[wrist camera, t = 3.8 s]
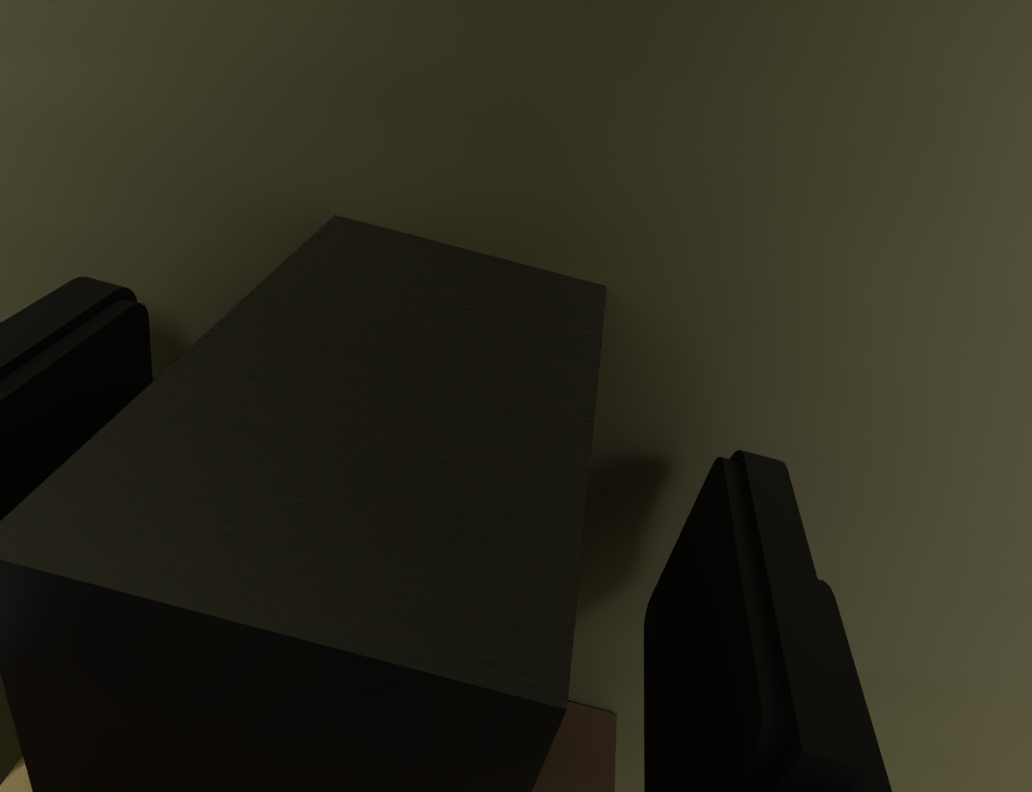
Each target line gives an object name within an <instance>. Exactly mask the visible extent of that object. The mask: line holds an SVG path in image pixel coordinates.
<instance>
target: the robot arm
mask: <svg viewBox="0 0 1032 792" xmlns="http://www.w3.org/2000/svg"><path fill="white" fill-rule="evenodd" d="M152 382H153V379H152V363H151V348H150V332H149V317H148V311H147V309H146V307H145V306H144V305H143V304H141V303H138V302H137V298H136V296H135V294H134V292H133V291H131V290H130V289H129V288H126V287H122V286H118V285H114V284H111V283H107V282H103V281H99V280H96V279H92V278H88V277H78V278H75V279H73V280H71V281H70V282H68V283H66V284H65V285H63V286H61V287H60V288H58V289H56V290H55V291H53V292H51V293H50V294H48V295H46V296H45V297H43V298H41V299H40V300H38V301H36V302H35V303H33V304H31V305H30V306H28V307H26V308H25V309H23V310H21V311H20V312H18V313H16V314H15V315H13V316H11V317H10V318H8V319H6V320H5V321H3V322H1V323H0V521H1V520H2V519H3V518H4V517H6V516H7V515H8V514H9V513H10V512H11V511H12V510H13V509H14V508H15V507H16V506H18V505H19V504H20V503H21V502H22V501H23V500H24V499H25V498H26V497H27V496H29V495H30V494H31V493H32V492H33V491H34V490H35V489H36V488H37V487H38V486H39V485H41V484H42V483H43V482H44V481H45V480H46V479H47V478H48V477H49V476H50V475H51V474H53V473H54V472H55V471H56V470H57V469H58V468H59V467H60V466H61V465H62V464H64V463H65V462H66V461H67V460H68V459H69V458H70V457H71V456H72V455H73V454H74V453H76V452H77V451H78V450H79V449H80V448H81V447H82V446H83V445H84V444H85V443H86V442H88V441H89V440H90V439H91V438H92V437H93V436H94V435H95V434H96V433H97V432H98V431H100V430H101V429H102V428H103V427H104V426H105V425H106V424H107V423H108V422H109V421H111V420H112V419H113V418H114V417H115V416H116V415H117V414H118V413H119V412H120V411H121V410H123V409H124V408H125V407H126V406H127V405H128V404H129V403H130V402H131V401H132V400H133V399H135V398H136V397H137V396H138V395H139V394H140V393H141V392H142V391H143V390H144V389H146V388H147V387H148V386H149V385H150V384H151V383H152ZM644 766H645V792H892V790H891V786H890V783H889V780H888V776H887V773H886V769H885V766H884V763H883V759H882V756H881V752H880V749H879V746H878V742H877V739H876V735H875V732H874V729H873V725H872V722H871V718H870V715H869V712H868V708H867V705H866V701H865V698H864V695H863V691H862V688H861V684H860V681H859V678H858V674H857V671H856V667H855V664H854V660H853V657H852V654H851V650H850V647H849V643H848V640H847V637H846V633H845V630H844V626H843V623H842V620H841V616H840V613H839V609H838V606H837V603H836V599H835V596H834V594H833V592H832V590H831V588H830V586H829V585H828V584H827V583H825V582H824V581H822V580H819V579H817V575H816V571H815V568H814V564H813V561H812V557H811V553H810V550H809V546H808V542H807V539H806V535H805V531H804V528H803V524H802V521H801V517H800V513H799V510H798V506H797V502H796V499H795V495H794V491H793V488H792V484H791V481H790V477H789V473H788V470H787V467H786V465H785V463H784V462H782V461H780V460H776V459H772V458H768V457H764V456H761V455H757V454H753V453H749V452H746V451H742V450H738V451H736V452H735V453H734V454H733V455H732V456H731V458H730V459H727V458H723V457H718V458H717V459H716V460H715V461H714V463H713V465H712V467H711V469H710V471H709V473H708V476H707V478H706V480H705V482H704V484H703V486H702V488H701V491H700V493H699V495H698V497H697V499H696V501H695V503H694V506H693V508H692V510H691V512H690V514H689V516H688V518H687V521H686V523H685V525H684V527H683V529H682V531H681V533H680V536H679V538H678V540H677V542H676V544H675V546H674V548H673V551H672V553H671V555H670V557H669V559H668V561H667V563H666V566H665V568H664V570H663V572H662V574H661V576H660V578H659V581H658V583H657V585H656V587H655V589H654V591H653V593H652V596H651V598H650V600H649V603H648V606H647V610H646V615H645V621H644Z"/></svg>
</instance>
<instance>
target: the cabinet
mask: <svg viewBox="0 0 1032 792" xmlns="http://www.w3.org/2000/svg"><path fill="white" fill-rule="evenodd" d="M616 719H617V714H614V713H610V712H607V711H603V710H599V709H595V708H592V707H588V706H584V705H580V704H577V703H573V702H569V701H568V702H567V710H566V712H565V715H564V717H563V719H562V722H561V724H560V726H559V729H558V731H557V733H556V736H555V738H554V741H553V743H552V745H551V748H550V750H549V752H548V755H547V757H546V759H545V762H544V764H543V766H542V769H541V771H540V773H539V776H538V778H537V780H536V783H535V785H534V787H533V790H532V792H614V781H615V750H616Z"/></svg>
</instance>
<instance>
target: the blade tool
mask: <svg viewBox="0 0 1032 792" xmlns="http://www.w3.org/2000/svg"><path fill="white" fill-rule="evenodd" d="M605 296H606V286H603V285H599V284H595V283H592V282H588V281H584V280H580V279H576V278H573V277H569V276H565V275H561V274H557V273H553V272H550V271H546V270H542V269H538V268H534V267H531V266H527V265H523V264H519V263H515V262H512V261H508V260H504V259H500V258H496V257H493V256H489V255H485V254H481V253H477V252H473V251H470V250H466V249H462V248H458V247H454V246H451V245H447V244H443V243H439V242H435V241H432V240H428V239H424V238H420V237H416V236H413V235H409V234H405V233H401V232H397V231H394V230H390V229H386V228H382V227H378V226H374V225H371V224H367V223H363V222H359V221H355V220H352V219H348V218H344V217H340V216H336V215H335V216H334V217H333V218H331V219H330V220H329V221H328V222H327V223H326V224H325V225H324V226H323V227H322V228H321V229H319V230H318V231H317V232H316V233H315V234H314V235H313V236H312V237H311V238H310V239H308V240H307V241H306V242H305V243H304V244H303V245H302V246H301V247H300V248H299V249H298V250H296V251H295V252H294V253H293V254H292V255H291V256H290V257H289V258H288V259H287V260H286V261H284V262H283V263H282V264H281V265H280V266H279V267H278V268H277V269H276V270H275V271H273V272H272V273H271V274H270V275H269V276H268V277H267V278H266V279H265V280H264V281H263V282H261V283H260V284H259V285H258V286H257V287H256V288H255V289H254V290H253V291H252V292H251V293H249V294H248V295H247V296H246V297H245V298H244V299H243V300H242V301H241V302H240V303H238V304H237V305H236V306H235V307H234V308H233V309H232V310H231V311H230V312H229V313H228V314H226V315H225V316H224V317H223V318H222V319H221V320H220V321H219V322H218V323H217V324H216V325H214V326H213V327H212V328H211V329H210V330H209V331H208V332H207V333H206V334H205V335H203V336H202V337H201V338H200V339H199V340H198V341H197V342H196V343H195V344H194V345H193V346H191V347H190V348H189V349H188V350H187V351H186V352H185V353H184V354H183V355H182V356H181V357H179V358H178V359H177V360H176V361H175V362H174V363H173V364H172V365H171V366H170V367H168V368H167V369H166V370H165V371H164V372H163V373H162V374H161V375H160V376H159V377H158V378H156V379H155V380H154V381H153V382H152V383H151V384H150V385H149V386H148V387H147V388H146V389H144V390H143V391H142V392H141V393H140V394H139V395H138V396H137V397H136V398H135V399H133V400H132V401H131V402H130V403H129V404H128V405H127V406H126V407H125V408H124V409H123V410H121V411H120V412H119V413H118V414H117V415H116V416H115V417H114V418H113V419H112V420H111V421H109V422H108V423H107V424H106V425H105V426H104V427H103V428H102V429H101V430H100V431H98V432H97V433H96V434H95V435H94V436H93V437H92V438H91V439H90V440H89V441H88V442H86V443H85V444H84V445H83V446H82V447H81V448H80V449H79V450H78V451H77V452H76V453H74V454H73V455H72V456H71V457H70V458H69V459H68V460H67V461H66V462H65V463H64V464H62V465H61V466H60V467H59V468H58V469H57V470H56V471H55V472H54V473H53V474H51V475H50V476H49V477H48V478H47V479H46V480H45V481H44V482H43V483H42V484H41V485H39V486H38V487H37V488H36V489H35V490H34V491H33V492H32V493H31V494H30V495H29V496H27V497H26V498H25V499H24V500H23V501H22V502H21V503H20V504H19V505H18V506H16V507H15V508H14V509H13V510H12V511H11V512H10V513H9V514H8V515H7V516H6V517H4V518H3V519H2V520H1V521H0V672H1V676H2V680H3V684H4V687H5V691H6V695H7V698H8V702H9V706H10V710H11V713H12V717H13V721H14V724H15V728H16V732H17V736H18V739H19V743H20V747H21V750H22V754H23V758H24V762H25V765H26V769H27V773H28V776H29V780H30V784H31V788H32V791H33V792H532V790H533V787H534V785H535V783H536V780H537V778H538V776H539V773H540V771H541V769H542V766H543V764H544V762H545V759H546V757H547V755H548V752H549V750H550V748H551V745H552V743H553V741H554V738H555V736H556V733H557V731H558V729H559V726H560V724H561V722H562V719H563V717H564V715H565V712H566V710H567V702H568V691H569V680H570V670H571V659H572V648H573V638H574V627H575V616H576V606H577V595H578V584H579V574H580V563H581V552H582V542H583V531H584V520H585V509H586V499H587V488H588V477H589V467H590V456H591V445H592V435H593V424H594V413H595V403H596V392H597V381H598V371H599V360H600V349H601V338H602V328H603V317H604V306H605Z"/></svg>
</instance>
